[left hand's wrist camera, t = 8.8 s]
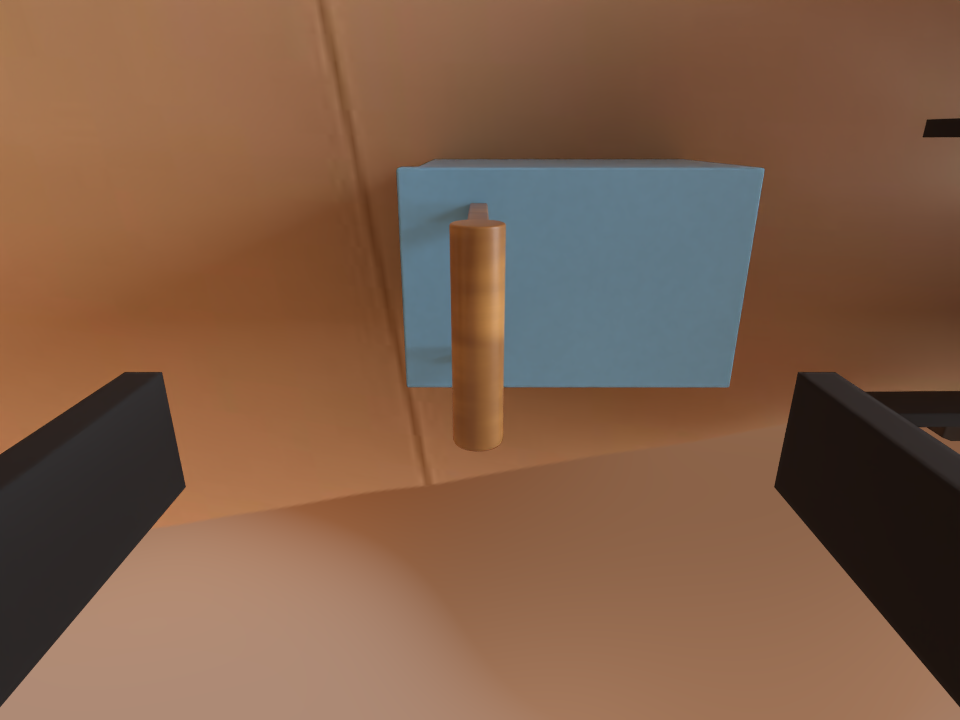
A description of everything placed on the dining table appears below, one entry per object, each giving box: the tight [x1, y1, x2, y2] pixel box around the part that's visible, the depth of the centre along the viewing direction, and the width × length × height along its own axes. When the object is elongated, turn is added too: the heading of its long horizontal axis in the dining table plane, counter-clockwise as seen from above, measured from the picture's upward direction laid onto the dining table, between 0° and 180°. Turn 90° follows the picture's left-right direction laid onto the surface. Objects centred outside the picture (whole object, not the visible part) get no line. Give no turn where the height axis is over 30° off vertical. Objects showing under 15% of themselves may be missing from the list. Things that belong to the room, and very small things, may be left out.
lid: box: [396, 167, 765, 451], centre depth 21 cm, size 14×9×9 cm, turn 90°
